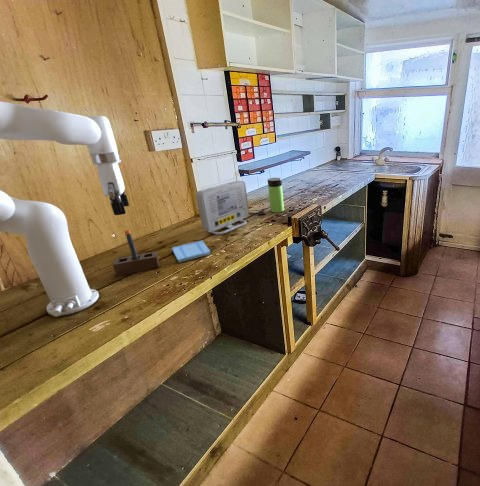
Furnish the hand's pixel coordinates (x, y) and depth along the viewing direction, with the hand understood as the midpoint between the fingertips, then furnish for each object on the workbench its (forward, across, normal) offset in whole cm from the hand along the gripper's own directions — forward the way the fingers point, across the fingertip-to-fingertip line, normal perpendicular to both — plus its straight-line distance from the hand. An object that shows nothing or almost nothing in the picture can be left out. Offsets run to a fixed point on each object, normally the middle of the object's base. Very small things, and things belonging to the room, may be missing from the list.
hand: (122, 210), depth 105 cm
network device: (+22, -27, +36) cm, 50 cm away
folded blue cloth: (+22, -5, +18) cm, 29 cm away
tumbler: (+22, -40, +64) cm, 78 cm away
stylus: (+22, +1, 0) cm, 22 cm away
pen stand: (+22, +1, 0) cm, 22 cm away
